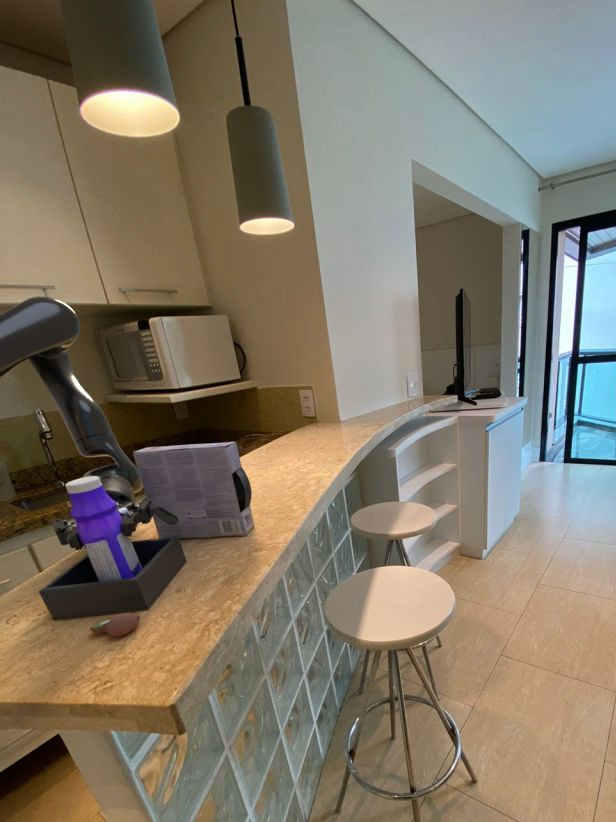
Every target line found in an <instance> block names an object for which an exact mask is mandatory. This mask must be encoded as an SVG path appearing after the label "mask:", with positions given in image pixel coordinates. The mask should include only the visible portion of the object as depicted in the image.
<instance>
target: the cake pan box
mask: <svg viewBox="0 0 616 822" xmlns="http://www.w3.org/2000/svg"><path fill="white" fill-rule="evenodd" d="M132 455H133V458H134V461H135V466H136V467H137V468H138V471H139V474H140V477H141V481H142V484H143V490H144V493H145V496H146V497H145V498H150V499H151V501H152V504H153V507H154V510H155V512H154V514H153V517H152V519H153V522H154V526H155V529H156V533H157V535H158V536H157V537H158V538H166V537H174V536H178V537H179V539H192V540H193V539H213V538H218V537H220V538H221V537H237V536H238V537H245V536H247V535H248V534H249V533H250V532H251V531H252V530H253V529H254V527H255V525H256V524H255V522H254V517H253V513H252V512H253V511H252V509H251V503H252V495H253V494H252V493H253V492H252V486H251V483H250V479H249V477H248V475H247V473H246V471H245V470H244V468H243V467H242V462H241V458H240V453H239V449H238V444H237V442H236V441H227V442H213V443H212V442H211V443H194V444H192V443H191V444H180V445H179V444H178V445H168V446H147V447H144V448H141V449H138V450H135V451H133V454H132Z"/></svg>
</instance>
